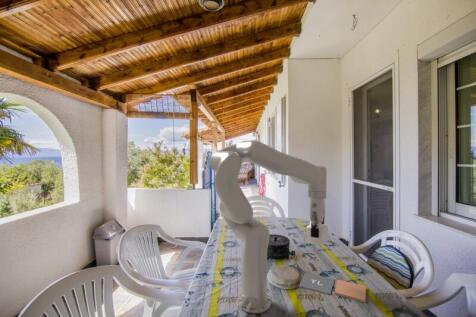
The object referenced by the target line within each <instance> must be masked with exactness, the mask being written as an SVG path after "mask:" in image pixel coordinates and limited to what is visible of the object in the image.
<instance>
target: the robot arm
mask: <svg viewBox="0 0 476 317" xmlns="http://www.w3.org/2000/svg"><path fill="white" fill-rule="evenodd" d="M243 163H251V164H254V165H256V166H258V167H261V168H262V169H266V170H267V171H270V172H272V173H275V174H276V175H282V176H287V177H290V178H291V180H292V181H293V182H295V183H298V184H303V185H307V186H308V187H307V188H308V190H307V192H308V193H307V197H308V198H309V200H310V202H309V222H310V221H311V237H315V238H319V228H318V224H319V222H320V223H321V222H322V221H323V218H324V220H325V219H326V202H325V201H326V199H327V174H328V173H327V171H328V170H327V167H326V166H325V165H315V164H313V163H310V162H309V161H306V160H303V159H301V158H298V157H295V156H294V155H293V156H292V155H290V154H287V153H284V152H282V151H279V150H277V149H275V148H274V147H271V146H269V145H268V144H265V143H263V142H262V141H260V140H256V139H254V140H253V139H252V140H251V139H250V140H242V141H240V142H237V143H235V144H233V145H230V146H227V147H225V148H222V149H219V150H217V151H214V153H212V154H211V156H210V158H209V167H210V169H211V170H212V171H213V172H215V175H214V181H213V182H214V190H215V193H216V195H217V196H218V198H219V200H220V203H219V211H220V214H221V216H222V217H223V219H224V221H225V222H226V225H227V226H228V227H229V229H230V230H231V232H232V233H233V234H234V235H235V237H237V238H238V239H240V240H241V242H243V243H244V246H243V249H242V252H241V294H240V295H239V296H238V298H237V304H238V305H237V310H238V311H240V312H242V311H244V312H246V313H249V314H250V313H251V314H261V313H265V312H266V311H268V310H269V309H271V305H272V299H271V297H270V296H269V295H268V246H269V242H270V231H269V229H268V227H267V225H265V224H264V223H263V222H261V221H260V220H258V219H256V218H253V217H254V209H253V206H252V204H251V203H250V202H249V200H248V198H247V196H246V195H245V193H244V192H243V190H242V188H241V185H240V184H239V175H240V171H241V169H242V166H243ZM311 218H312V219H311ZM315 220H317V221H315ZM316 223H317V225H316Z"/></svg>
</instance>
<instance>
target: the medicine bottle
mask: <svg viewBox="0 0 476 317" xmlns="http://www.w3.org/2000/svg"><path fill="white" fill-rule="evenodd" d="M311 219H312V218H311ZM315 221H317V220H315ZM316 225H317V223H316ZM318 228H319V238H315V237H311V221H310V220H309V224H308V225H307V226H306V227H305V243H306V244H309V245H310V244H311V245H314V246H318V247H323V246H324V245H325V244H327V243H328V238H329V236H328V234H329V233H328V232H329V228H328V225H325V219H324V218H323V221H322V222H321V223H320V222H319V224H318Z"/></svg>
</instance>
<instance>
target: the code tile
mask: <svg viewBox="0 0 476 317" xmlns="http://www.w3.org/2000/svg"><path fill="white" fill-rule="evenodd" d="M299 283H300V285H299V284H298V285H299V286H298V287H299V288H303V289H306V290H310V291H314V292H318V293H322V294H326V295H329V296H330V295H331V294H332V290H333V288H332V287H334V283H335V279H334V278H331V277H326V276H321V275H318V274H313V273H310V272H305V273H304V274H303V276H302V278H301V279H300V281H299Z"/></svg>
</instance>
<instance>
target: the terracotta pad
mask: <svg viewBox="0 0 476 317" xmlns="http://www.w3.org/2000/svg"><path fill="white" fill-rule="evenodd" d="M334 295H335V296H339V297H343V298H345V299H351V300H353V301H356V302H362V303H366V301H367V300H366V298H367V297H366V296H367V286H366V285H362V284H358V283H355V282H350V281H345V280H341V279H337V282H336V286H335V289H334Z"/></svg>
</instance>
